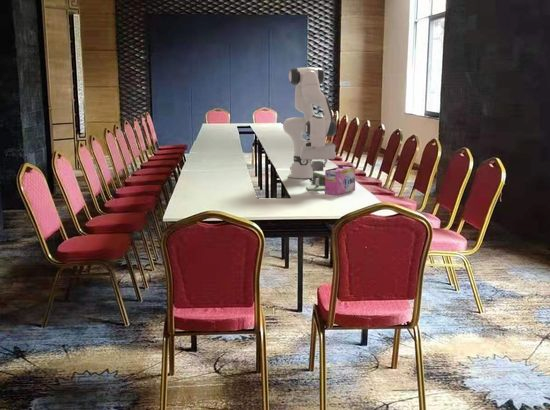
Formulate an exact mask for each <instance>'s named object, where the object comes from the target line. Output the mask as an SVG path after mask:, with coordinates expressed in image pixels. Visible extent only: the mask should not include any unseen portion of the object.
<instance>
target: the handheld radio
mask: <svg viewBox="0 0 550 410" xmlns="http://www.w3.org/2000/svg"><path fill="white" fill-rule="evenodd" d="M316 178H319V186H321V185H322V186H325V174H322V173H319V172H317V171H314V172H313V178H308V179H309V181H311V182H312V183H313V184H315V181H316Z"/></svg>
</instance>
